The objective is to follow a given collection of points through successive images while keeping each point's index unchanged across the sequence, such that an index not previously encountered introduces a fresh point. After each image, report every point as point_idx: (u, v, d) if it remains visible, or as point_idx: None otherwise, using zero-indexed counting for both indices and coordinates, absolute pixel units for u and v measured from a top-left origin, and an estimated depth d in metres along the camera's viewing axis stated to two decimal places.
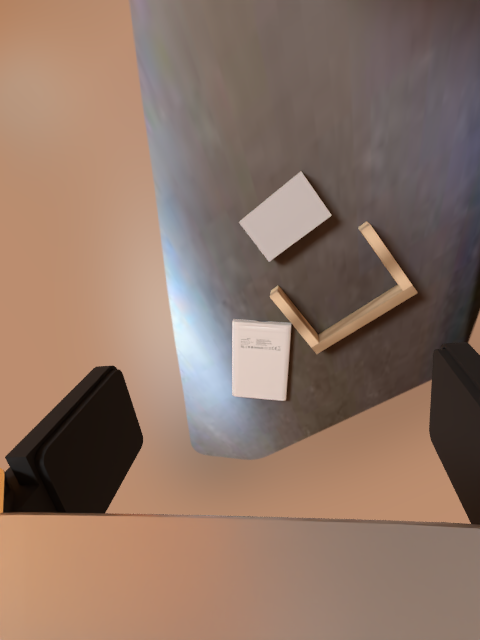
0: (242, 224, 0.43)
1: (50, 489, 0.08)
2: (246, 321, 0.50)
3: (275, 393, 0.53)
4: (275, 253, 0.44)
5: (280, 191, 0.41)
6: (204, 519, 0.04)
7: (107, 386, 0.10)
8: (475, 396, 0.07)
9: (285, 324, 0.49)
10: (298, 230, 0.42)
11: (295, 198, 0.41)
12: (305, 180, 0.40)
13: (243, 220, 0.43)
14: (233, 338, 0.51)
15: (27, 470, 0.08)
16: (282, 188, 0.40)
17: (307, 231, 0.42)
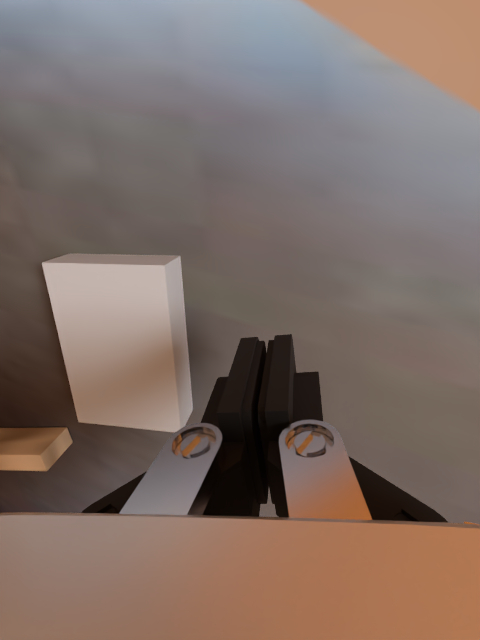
0: (154, 269, 0.16)
1: (250, 446, 0.08)
2: None
3: None
4: (54, 289, 0.17)
5: (171, 383, 0.18)
6: (204, 519, 0.04)
7: (262, 355, 0.10)
8: (264, 375, 0.09)
9: None
10: (79, 359, 0.18)
11: (142, 394, 0.18)
12: (161, 428, 0.19)
13: (161, 278, 0.16)
14: None
15: (235, 426, 0.08)
16: (174, 389, 0.18)
17: (70, 372, 0.19)
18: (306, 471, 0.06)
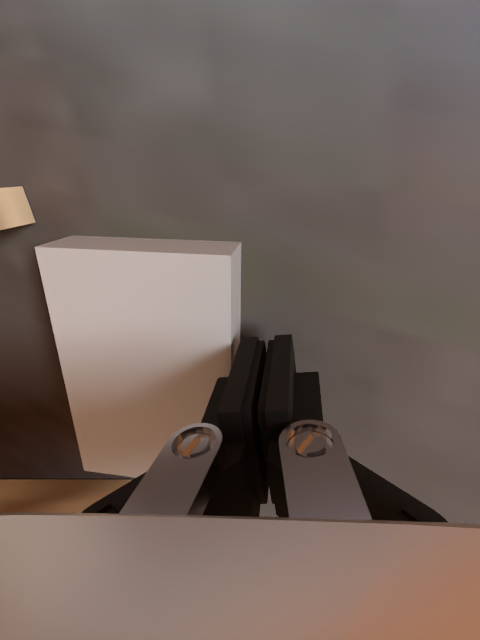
0: (214, 261, 0.10)
1: (250, 446, 0.08)
2: None
3: None
4: (54, 288, 0.11)
5: None
6: (204, 519, 0.04)
7: (262, 355, 0.10)
8: (264, 375, 0.09)
9: None
10: (89, 389, 0.13)
11: None
12: None
13: (224, 275, 0.10)
14: None
15: (235, 426, 0.08)
16: None
17: (74, 405, 0.13)
18: (306, 471, 0.06)
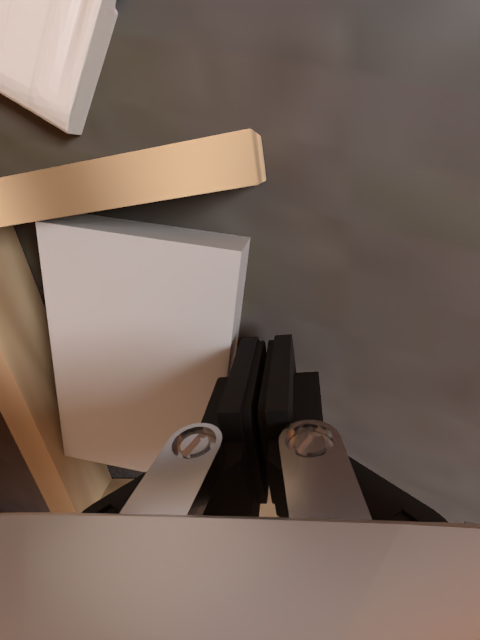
0: (224, 255, 0.10)
1: (250, 446, 0.08)
2: None
3: None
4: (51, 266, 0.11)
5: None
6: (204, 519, 0.04)
7: (262, 355, 0.10)
8: (264, 375, 0.09)
9: (74, 105, 0.10)
10: (78, 374, 0.12)
11: (167, 432, 0.13)
12: None
13: (232, 270, 0.10)
14: None
15: (235, 426, 0.08)
16: None
17: (61, 389, 0.13)
18: (306, 471, 0.06)
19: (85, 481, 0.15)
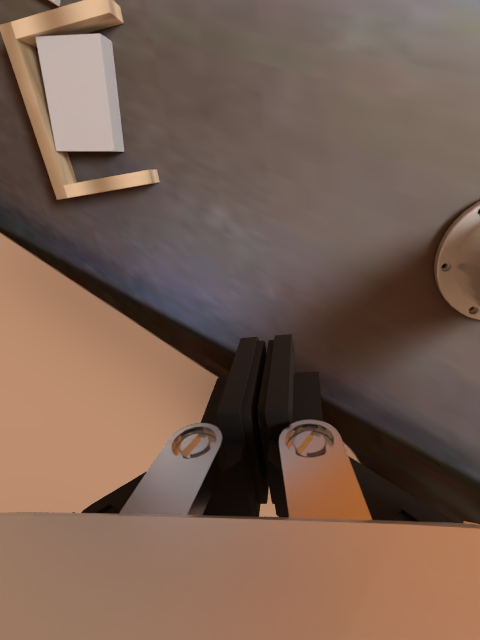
0: (95, 36, 0.30)
1: (250, 446, 0.08)
2: None
3: None
4: (42, 54, 0.31)
5: (107, 114, 0.33)
6: (204, 519, 0.04)
7: (262, 355, 0.10)
8: (265, 375, 0.09)
9: None
10: (56, 103, 0.33)
11: (92, 125, 0.33)
12: (103, 148, 0.34)
13: (99, 41, 0.30)
14: None
15: (235, 426, 0.08)
16: (108, 118, 0.33)
17: (51, 113, 0.33)
18: (306, 471, 0.06)
19: (64, 169, 0.36)
